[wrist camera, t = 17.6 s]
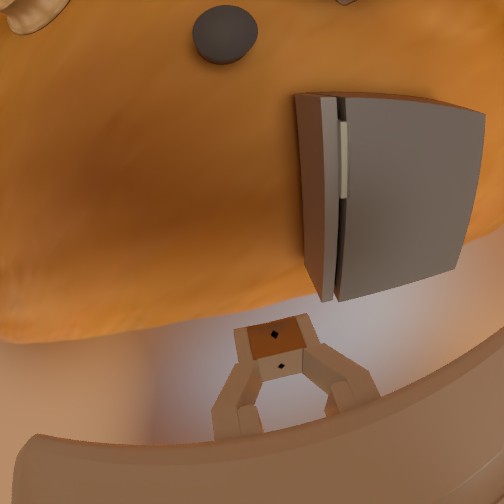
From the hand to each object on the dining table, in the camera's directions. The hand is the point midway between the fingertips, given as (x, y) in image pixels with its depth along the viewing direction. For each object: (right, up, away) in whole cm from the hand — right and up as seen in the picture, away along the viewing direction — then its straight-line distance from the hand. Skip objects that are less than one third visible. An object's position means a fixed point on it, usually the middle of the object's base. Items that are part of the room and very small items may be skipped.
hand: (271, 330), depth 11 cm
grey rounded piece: (-3, +19, +5) cm, 20 cm away
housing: (+11, +11, +13) cm, 20 cm away
